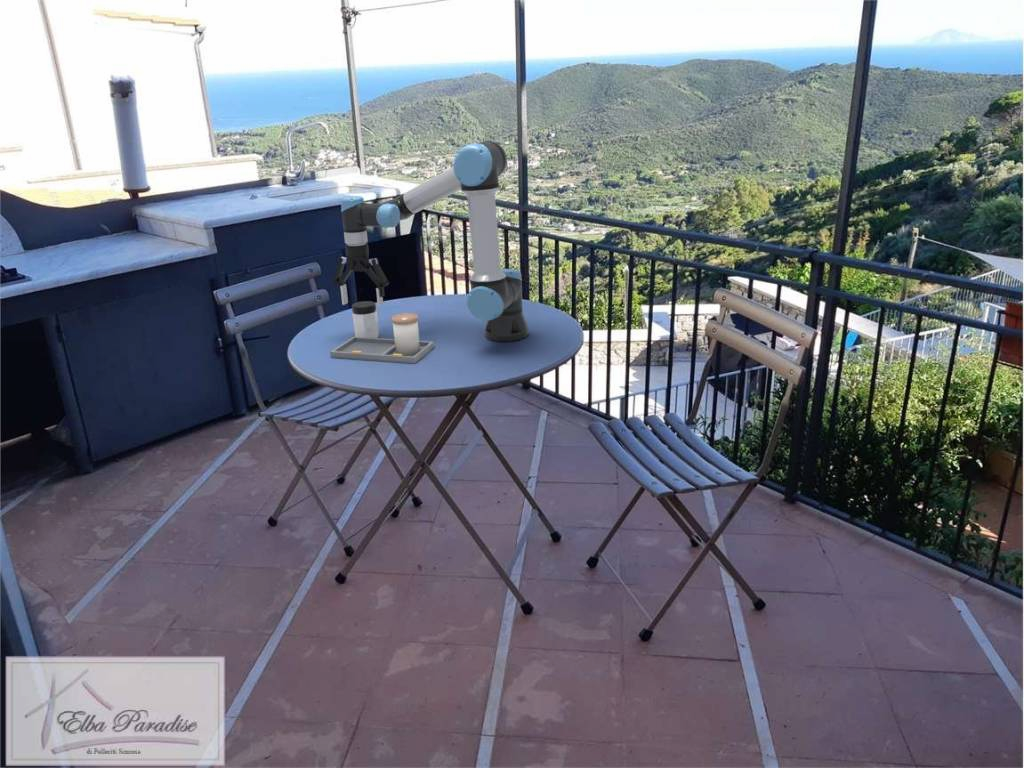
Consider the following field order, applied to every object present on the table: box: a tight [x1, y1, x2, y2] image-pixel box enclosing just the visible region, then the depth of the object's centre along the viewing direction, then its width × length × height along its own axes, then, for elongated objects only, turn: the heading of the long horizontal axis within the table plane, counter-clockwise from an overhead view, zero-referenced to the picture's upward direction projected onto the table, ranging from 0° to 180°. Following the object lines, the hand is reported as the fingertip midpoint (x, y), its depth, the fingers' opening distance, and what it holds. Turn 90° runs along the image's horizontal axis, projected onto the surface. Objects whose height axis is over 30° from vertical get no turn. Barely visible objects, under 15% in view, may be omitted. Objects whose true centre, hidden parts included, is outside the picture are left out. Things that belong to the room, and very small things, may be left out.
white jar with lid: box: [391, 312, 420, 356], centre depth 242 cm, size 8×8×12 cm
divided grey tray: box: [329, 336, 435, 365], centre depth 246 cm, size 30×16×3 cm, turn 73°
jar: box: [351, 300, 380, 338], centre depth 261 cm, size 9×8×12 cm
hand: (362, 304), depth 259 cm, fingers open, 13 cm apart
